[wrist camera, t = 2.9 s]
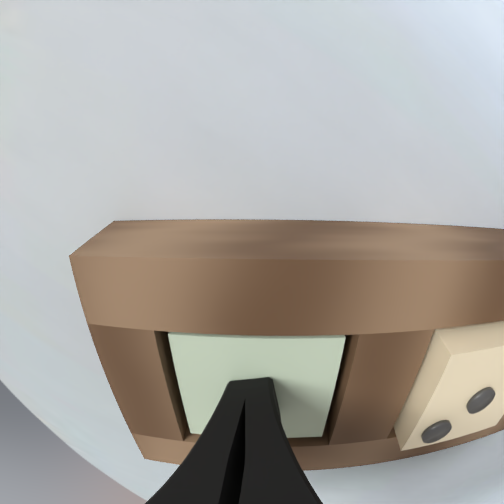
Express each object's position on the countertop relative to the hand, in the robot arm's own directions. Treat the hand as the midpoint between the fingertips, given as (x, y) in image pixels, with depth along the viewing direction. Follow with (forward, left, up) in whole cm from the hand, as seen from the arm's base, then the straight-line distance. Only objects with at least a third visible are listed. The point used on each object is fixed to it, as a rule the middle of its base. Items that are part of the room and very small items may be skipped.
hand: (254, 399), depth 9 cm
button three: (-8, 0, -2) cm, 8 cm away
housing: (-8, 0, -3) cm, 8 cm away
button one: (0, 0, -3) cm, 3 cm away
